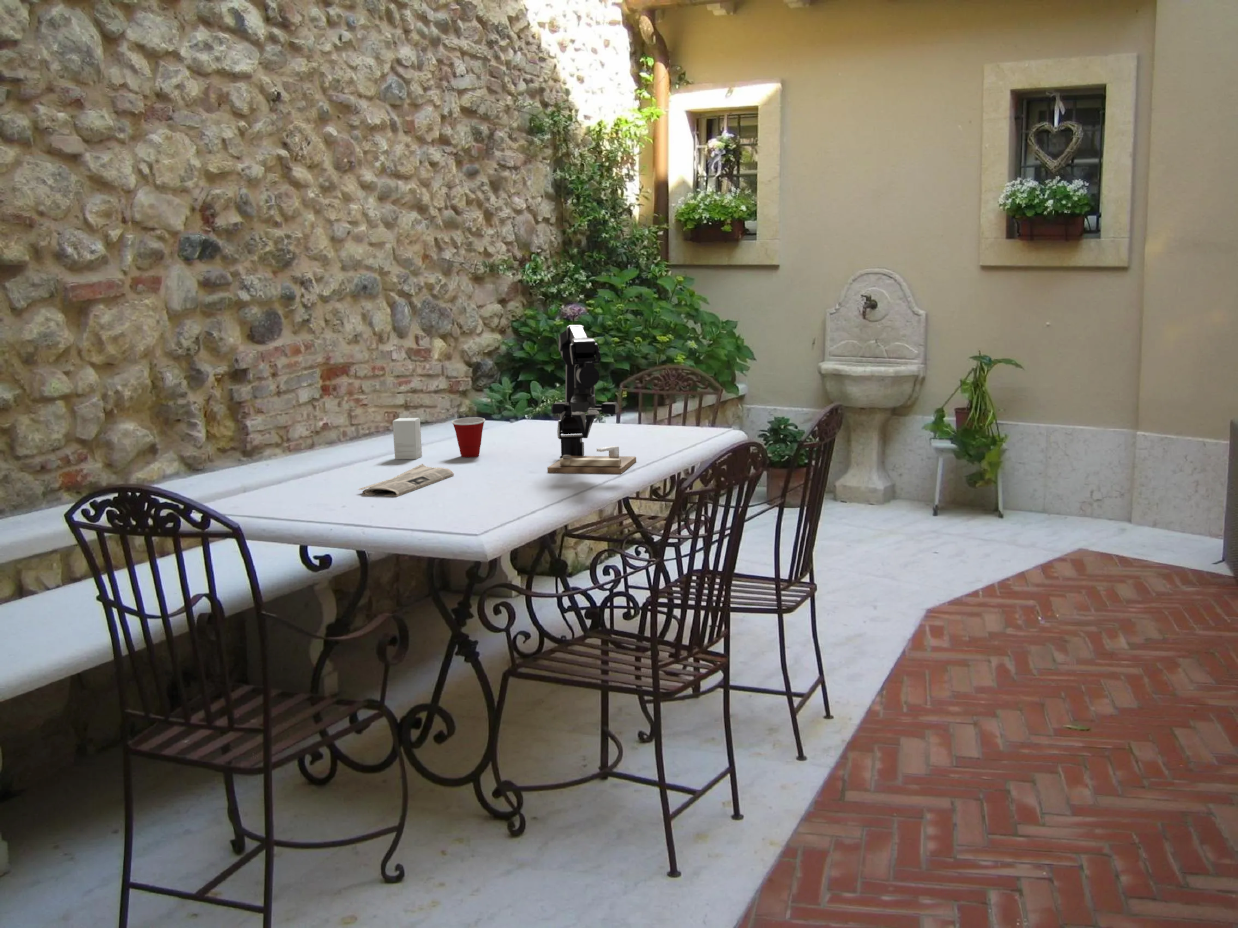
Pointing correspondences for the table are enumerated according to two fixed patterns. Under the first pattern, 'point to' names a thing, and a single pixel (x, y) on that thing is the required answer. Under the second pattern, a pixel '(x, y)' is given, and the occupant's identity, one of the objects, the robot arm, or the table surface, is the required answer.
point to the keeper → (611, 451)
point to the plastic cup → (469, 435)
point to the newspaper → (409, 481)
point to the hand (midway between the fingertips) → (585, 438)
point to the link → (589, 461)
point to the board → (625, 463)
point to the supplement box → (407, 438)
